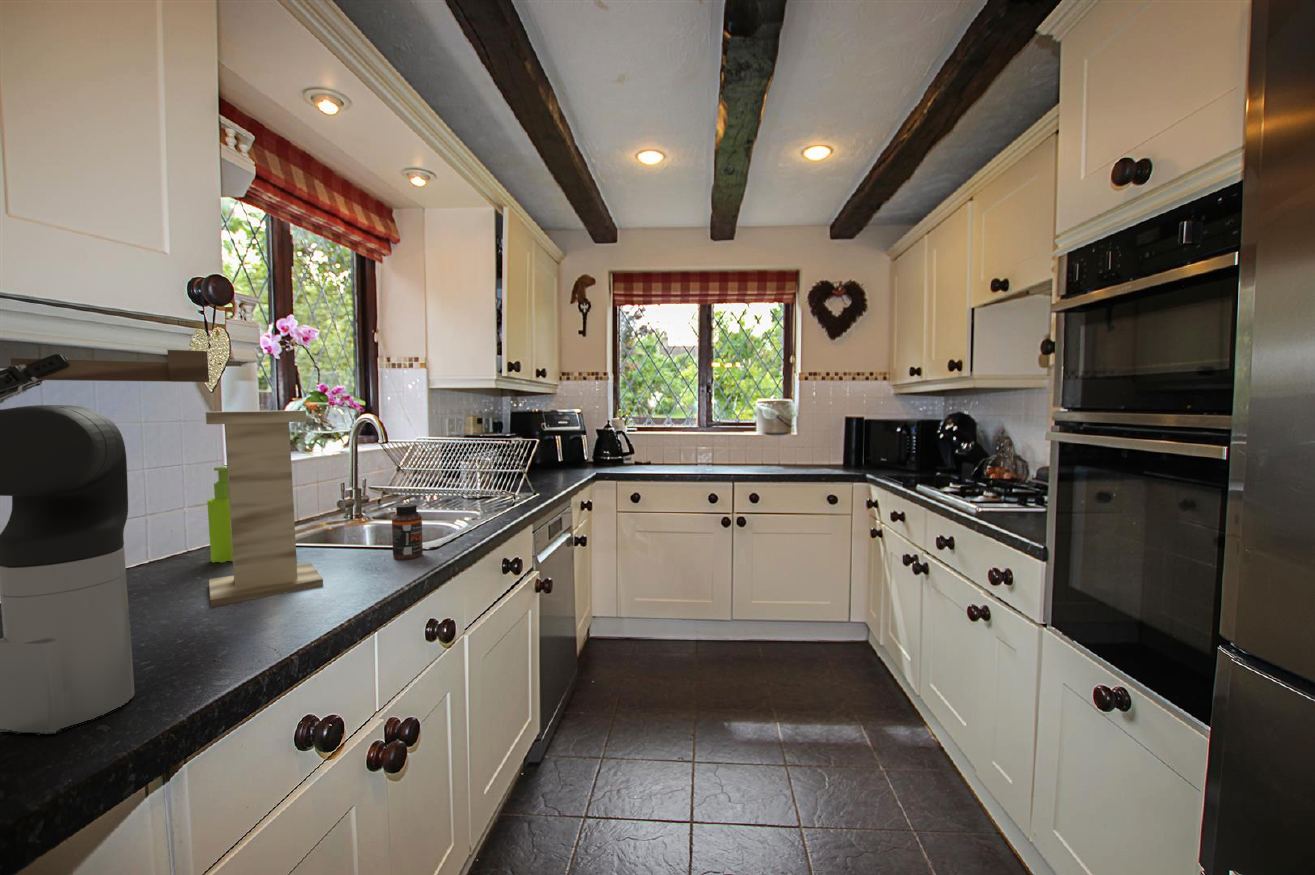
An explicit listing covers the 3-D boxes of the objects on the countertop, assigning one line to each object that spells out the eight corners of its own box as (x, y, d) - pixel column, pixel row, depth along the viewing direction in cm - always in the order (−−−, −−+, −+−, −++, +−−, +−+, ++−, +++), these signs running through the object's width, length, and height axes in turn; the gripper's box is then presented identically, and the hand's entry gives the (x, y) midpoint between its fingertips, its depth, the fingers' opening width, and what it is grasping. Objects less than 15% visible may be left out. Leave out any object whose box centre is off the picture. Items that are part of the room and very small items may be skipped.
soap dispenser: (226, 564, 115) (220, 469, 113) (204, 561, 117) (198, 468, 116) (255, 556, 120) (249, 465, 119) (234, 553, 123) (228, 464, 121)
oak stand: (323, 585, 101) (314, 410, 99) (210, 607, 90) (198, 412, 88) (311, 568, 111) (302, 410, 109) (209, 585, 101) (198, 411, 99)
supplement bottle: (415, 560, 116) (413, 507, 116) (387, 560, 116) (385, 507, 116) (427, 552, 122) (425, 502, 121) (401, 552, 122) (399, 502, 122)
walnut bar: (209, 381, 92) (207, 351, 92) (10, 378, 78) (7, 343, 78) (208, 382, 96) (206, 353, 96) (19, 380, 82) (16, 346, 82)
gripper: (-139, 395, 68) (36, 333, 77) (-93, 396, 79) (56, 342, 88) (-84, 445, 71) (78, 380, 80) (-47, 440, 81) (93, 383, 90)
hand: (66, 360), depth 84 cm, fingers closed on walnut bar, 3 cm apart
